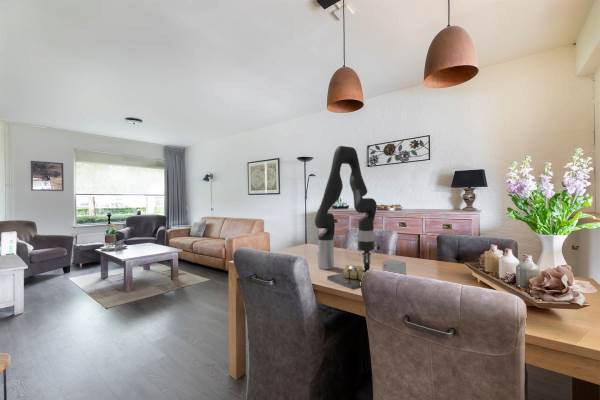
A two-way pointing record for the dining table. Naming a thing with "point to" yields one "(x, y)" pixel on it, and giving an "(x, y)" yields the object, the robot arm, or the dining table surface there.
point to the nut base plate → (345, 279)
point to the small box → (394, 266)
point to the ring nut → (353, 272)
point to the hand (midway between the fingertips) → (367, 275)
